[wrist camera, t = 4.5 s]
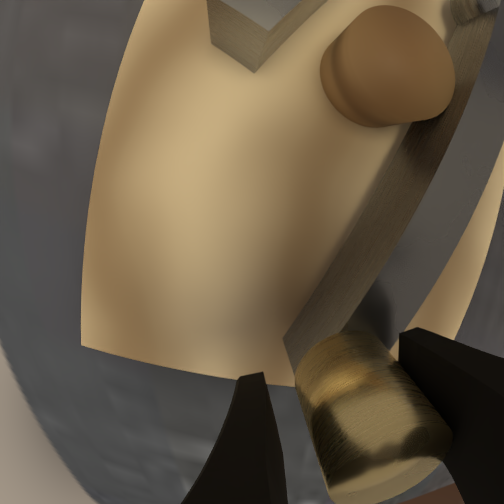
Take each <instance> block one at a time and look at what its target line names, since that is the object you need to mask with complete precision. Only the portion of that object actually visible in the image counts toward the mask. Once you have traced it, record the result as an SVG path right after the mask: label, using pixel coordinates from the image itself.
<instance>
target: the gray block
mask: <svg viewBox="0 0 504 504" xmlns="http://www.w3.org/2000/svg"><path fill="white" fill-rule="evenodd" d="M206 1H207V11H208V20H209V29H210V39H211V44H212V45H214V46H215V47H217V48H218V49H220V50H221V51H223V52H224V53H226V54H227V55H229V56H230V57H232V58H233V59H234V60H236V61H237V62H239V63H240V64H242V65H243V66H244V67H246V68H247V69H249V70H250V71H251V72H253V73H255V72H256V71H257V70H258V69H259V68H260V67H261V66H262V65H263V64H264V63H265V62H266V61H267V59H268V58H269V57H270V56H271V55H272V54H273V53H274V52H275V51H276V50H277V49H278V48H279V47H280V46H281V45H282V44H283V43H284V42H285V41H286V40H287V39H288V38H289V37H290V36H291V35H292V34H293V33H294V32H295V31H296V30H297V29H298V28H299V27H300V26H301V25H302V24H303V23H304V22H305V21H306V20H307V19H308V18H309V17H310V16H312V15H313V14H314V13H315V12H316V11H317V10H318V9H319V8H320V7H321V6H322V5H323V4H324V3H326V2H327V1H328V0H206Z"/></svg>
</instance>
